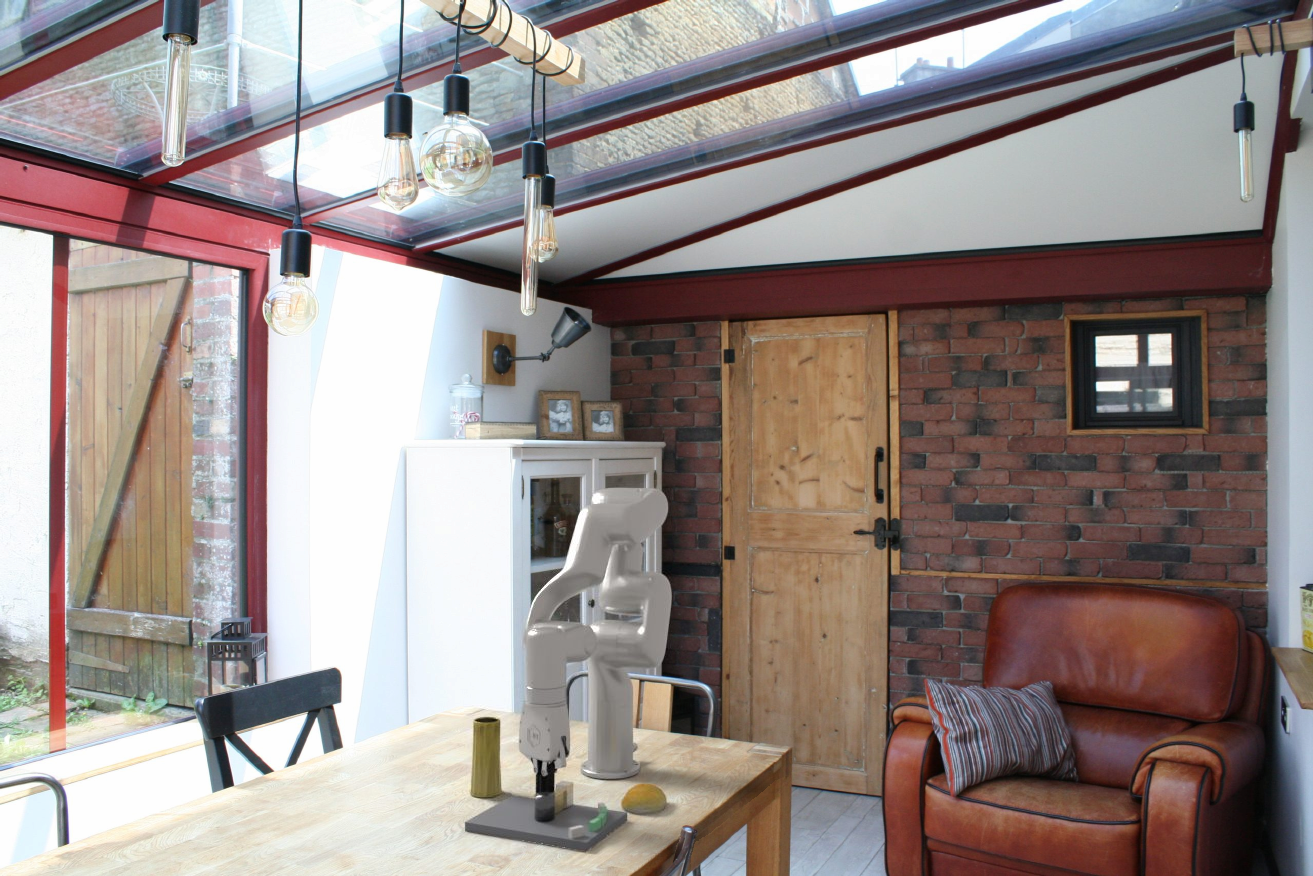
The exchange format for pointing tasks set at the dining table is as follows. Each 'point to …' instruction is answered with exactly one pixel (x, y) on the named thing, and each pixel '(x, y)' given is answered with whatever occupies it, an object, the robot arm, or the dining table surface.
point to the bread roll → (644, 799)
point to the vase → (486, 758)
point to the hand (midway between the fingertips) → (545, 794)
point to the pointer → (553, 801)
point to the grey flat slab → (548, 823)
